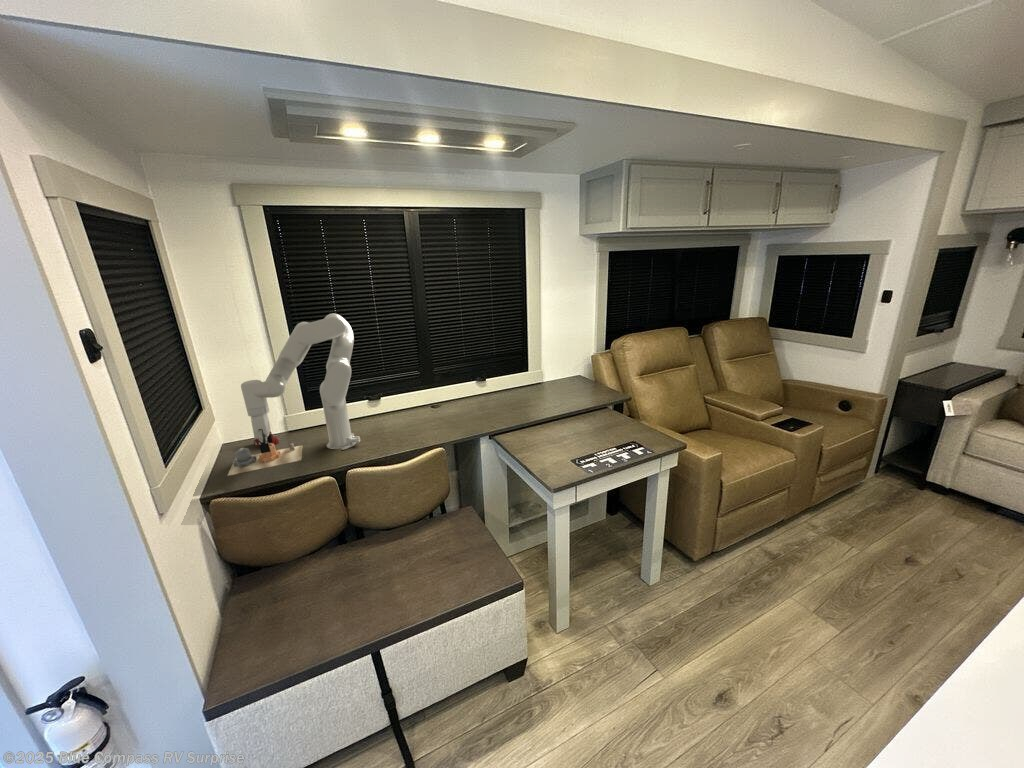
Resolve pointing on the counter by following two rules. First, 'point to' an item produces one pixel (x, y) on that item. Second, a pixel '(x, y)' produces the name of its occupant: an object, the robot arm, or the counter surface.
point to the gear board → (285, 457)
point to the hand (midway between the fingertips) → (267, 447)
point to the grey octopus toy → (244, 458)
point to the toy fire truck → (275, 441)
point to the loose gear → (270, 454)
